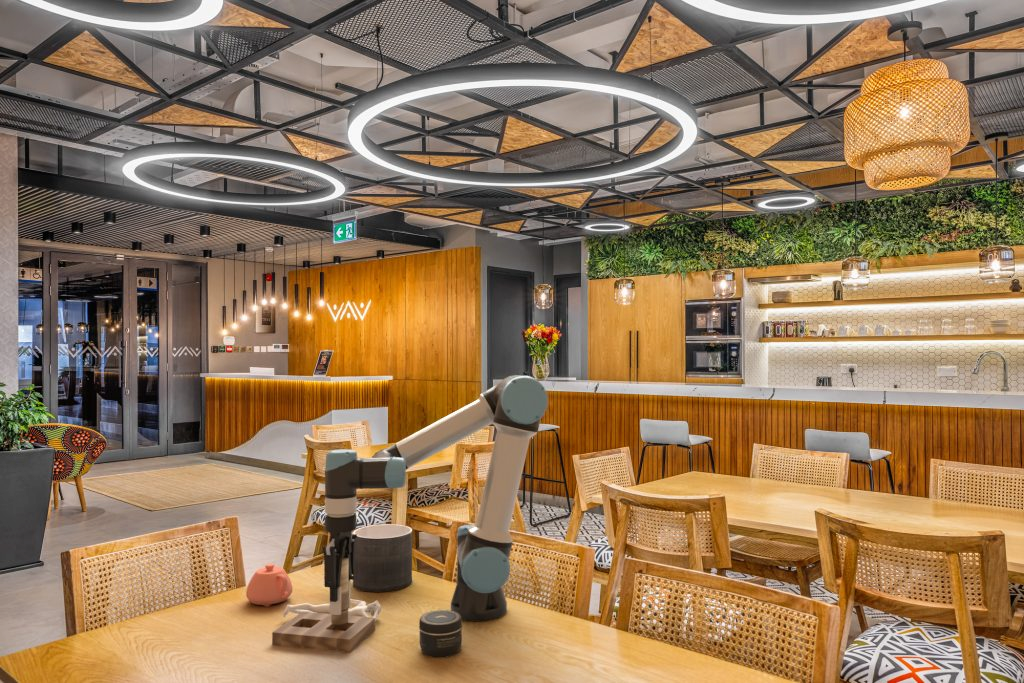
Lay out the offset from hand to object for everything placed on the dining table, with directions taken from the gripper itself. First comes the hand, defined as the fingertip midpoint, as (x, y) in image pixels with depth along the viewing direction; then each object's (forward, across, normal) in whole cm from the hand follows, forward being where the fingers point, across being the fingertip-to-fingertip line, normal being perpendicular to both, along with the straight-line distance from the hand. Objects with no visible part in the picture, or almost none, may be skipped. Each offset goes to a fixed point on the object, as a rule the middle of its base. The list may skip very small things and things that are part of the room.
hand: (340, 610), depth 169 cm
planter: (+7, -42, -7) cm, 43 cm away
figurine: (+7, -10, -7) cm, 14 cm away
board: (+7, 0, -4) cm, 8 cm away
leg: (+3, 0, 0) cm, 3 cm away
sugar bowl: (+7, -20, -31) cm, 37 cm away
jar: (+7, +1, +26) cm, 27 cm away
